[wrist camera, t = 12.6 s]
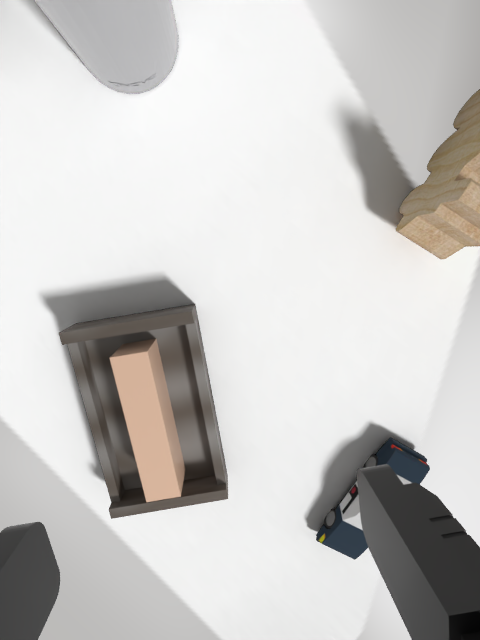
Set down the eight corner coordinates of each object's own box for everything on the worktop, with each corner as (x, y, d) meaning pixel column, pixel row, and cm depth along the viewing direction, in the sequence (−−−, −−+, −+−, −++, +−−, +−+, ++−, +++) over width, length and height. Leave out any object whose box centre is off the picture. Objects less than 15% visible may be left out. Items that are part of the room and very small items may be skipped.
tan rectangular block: (122, 344, 37) (109, 357, 33) (156, 338, 37) (147, 351, 33) (154, 474, 41) (146, 502, 37) (185, 469, 41) (180, 496, 37)
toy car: (313, 529, 46) (323, 564, 41) (385, 431, 43) (406, 456, 38) (345, 545, 46) (359, 581, 42) (418, 449, 44) (442, 476, 39)
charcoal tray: (75, 323, 38) (58, 333, 34) (195, 304, 38) (191, 311, 34) (121, 493, 43) (111, 518, 39) (227, 475, 43) (227, 498, 39)
